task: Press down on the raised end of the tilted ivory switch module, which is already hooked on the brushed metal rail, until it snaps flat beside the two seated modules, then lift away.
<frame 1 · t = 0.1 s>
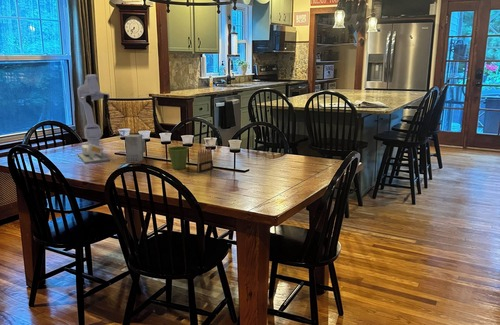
hand: (99, 106, 263), 32 cm above the table, tool tilted 50°, fingers open, 7 cm apart
ammunition clip: (205, 171, 245), on the table
plant pot: (179, 168, 251), on the table
rail board: (93, 158, 277), on the table
circuit breaker: (136, 159, 273), on the table
module: (95, 149, 276), point 5 cm above the table, hinge at 25.0°
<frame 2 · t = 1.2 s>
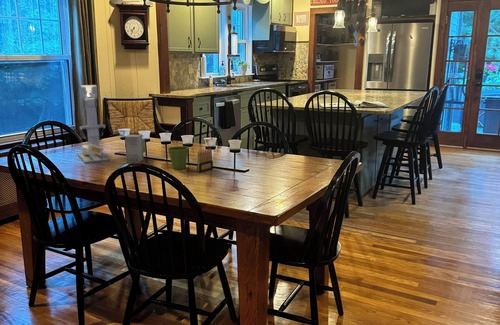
hand: (93, 140, 277), 10 cm above the table, tool pointing down, fingers open, 7 cm apart
nothing on the table moved.
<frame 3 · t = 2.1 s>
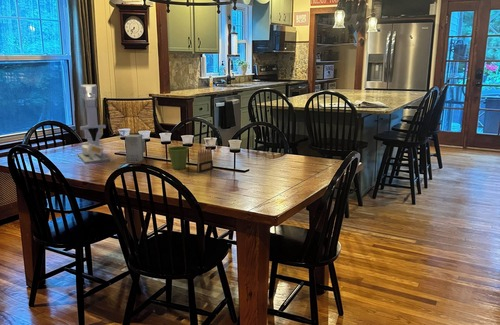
hand: (94, 140, 276), 10 cm above the table, tool pointing down, fingers closed
nothing on the table moved.
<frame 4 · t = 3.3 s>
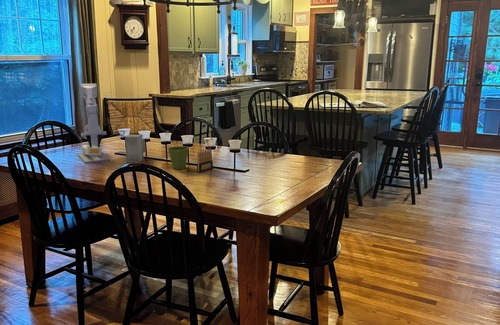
hand: (94, 147, 276), 7 cm above the table, tool pointing down, fingers open, 4 cm apart
module: (93, 150, 276), point 5 cm above the table, hinge at 10.1°, touching gripper
everything else where it was.
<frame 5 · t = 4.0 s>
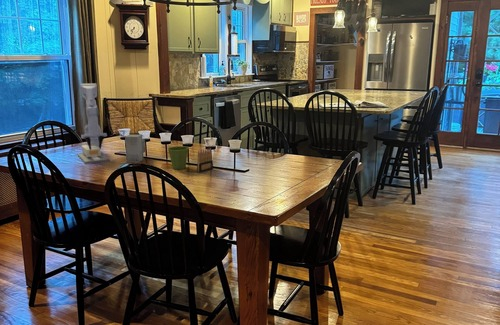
hand: (95, 149, 276), 6 cm above the table, tool pointing down, fingers closed on module, 5 cm apart
module: (93, 152, 276), point 4 cm above the table, hinge at -1.0°, touching gripper, rail board
everything else where it was.
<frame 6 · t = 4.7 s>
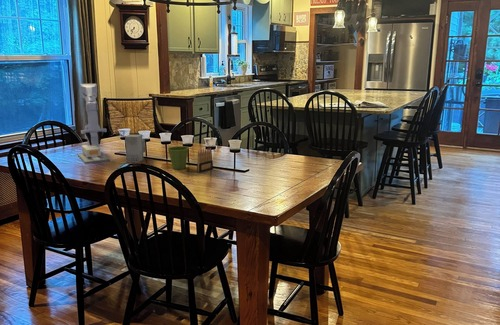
hand: (95, 144, 275), 8 cm above the table, tool pointing down, fingers open, 4 cm apart
module: (93, 152, 276), point 4 cm above the table, hinge at -1.0°, touching rail board
everything else where it was.
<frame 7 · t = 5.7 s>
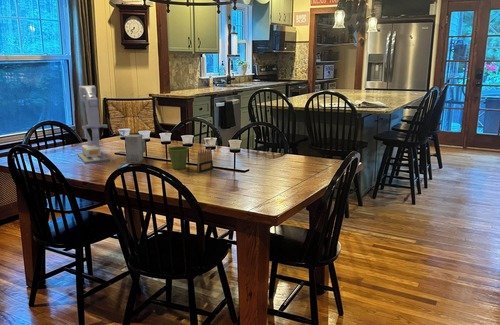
hand: (96, 140, 279), 10 cm above the table, tool pointing down, fingers open, 4 cm apart
nothing on the table moved.
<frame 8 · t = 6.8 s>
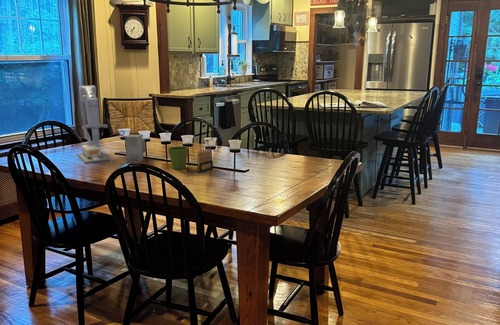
hand: (96, 140, 279), 10 cm above the table, tool pointing down, fingers open, 4 cm apart
nothing on the table moved.
at the end: module at -1° (first picture: +25°); the gripper is holding nothing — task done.
